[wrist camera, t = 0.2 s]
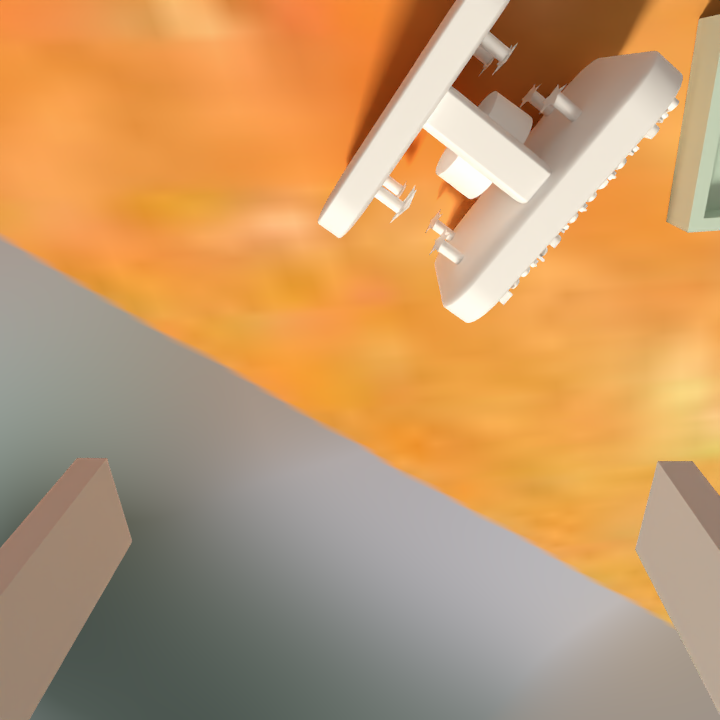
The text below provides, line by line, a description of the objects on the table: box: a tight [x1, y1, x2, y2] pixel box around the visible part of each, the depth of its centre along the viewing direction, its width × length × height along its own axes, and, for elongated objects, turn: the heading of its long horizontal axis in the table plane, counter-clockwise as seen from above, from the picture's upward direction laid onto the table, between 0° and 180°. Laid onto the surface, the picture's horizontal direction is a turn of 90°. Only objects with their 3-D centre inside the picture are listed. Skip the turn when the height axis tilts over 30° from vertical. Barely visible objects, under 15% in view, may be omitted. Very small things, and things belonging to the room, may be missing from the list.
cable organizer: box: [318, 0, 683, 323], centre depth 30 cm, size 15×11×12 cm
